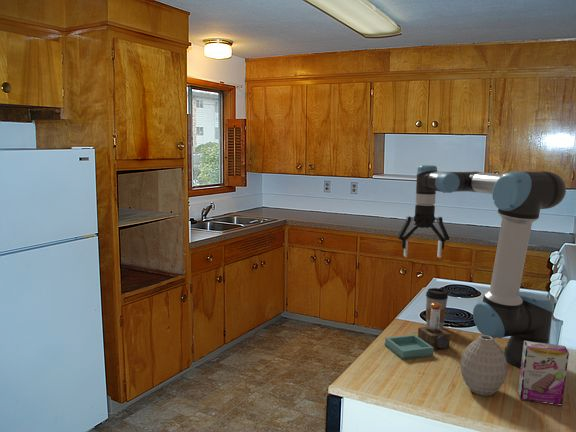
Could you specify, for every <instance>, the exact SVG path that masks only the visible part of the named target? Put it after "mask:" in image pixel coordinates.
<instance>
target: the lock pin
mask: <svg viewBox="0 0 576 432" xmlns="http://www.w3.org/2000/svg"><path fill="white" fill-rule="evenodd" d="M441 305H442V304H441V303H438V302H431V304H430V307H431V316H430V331H429V332H430V333H432V334H434V333H439V320H440V308H441Z"/></svg>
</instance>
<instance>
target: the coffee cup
mask: <svg viewBox="0 0 576 432" xmlns="http://www.w3.org/2000/svg"><path fill="white" fill-rule="evenodd" d="M425 296H426V299H425V300H426V302H425V303H426V304H425V312H426V313H425V316H426V317H425V318H426V325H425V326H426V327H430V316H431V307H430V304H431V302H438V303H441V304H442V305H441V308H440V320H439V327H440V328H442V329H444V323H445V319H446V312H447V311H446V310H447V301H448V299H449V295H448V291H447V290H445V289H443V288H439V287H438V288H437V287H432V288H431V287H430V288H427V291H426V293H425Z"/></svg>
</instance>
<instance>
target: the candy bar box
mask: <svg viewBox="0 0 576 432" xmlns="http://www.w3.org/2000/svg"><path fill="white" fill-rule="evenodd" d="M569 353H570V352H569V349H568V348H567V346H566V345H560V344H553V343H549V344H546V343H538V342H531V341H524V344H523V353H522V361H521V368H520V370H519V372H520V373H519V378H518V388H517V392H518V395H519V399H520V400H521V399H522V401H527V400H530V401H529V402H534V401H539V402H538V403H540V402H547V403H553V404H562V405H563V401H564V393H565V388H566V387H565V386H566V377H567V371H568V369H567V368H568V361H569V356H570V354H569ZM547 403H546V404H547ZM553 404H552V405H553Z"/></svg>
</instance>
